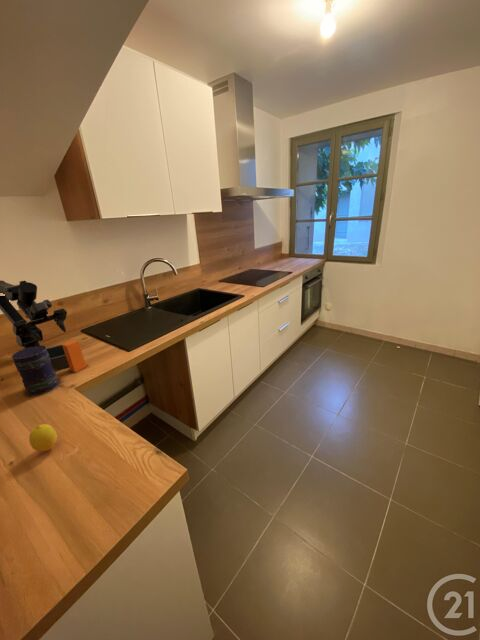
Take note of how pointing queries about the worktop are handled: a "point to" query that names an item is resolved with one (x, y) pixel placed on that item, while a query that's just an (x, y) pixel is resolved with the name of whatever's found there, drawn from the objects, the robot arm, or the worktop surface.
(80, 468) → the worktop surface
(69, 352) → the block
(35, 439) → the lemon
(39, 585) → the worktop surface
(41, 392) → the storage jar
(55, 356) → the dark grey open box
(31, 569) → the worktop surface
